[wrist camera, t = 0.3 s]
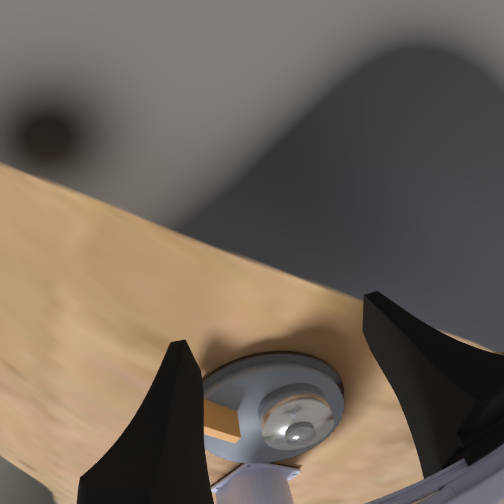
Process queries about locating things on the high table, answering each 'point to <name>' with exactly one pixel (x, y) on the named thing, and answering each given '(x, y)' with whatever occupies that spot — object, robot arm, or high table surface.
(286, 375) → the turntable
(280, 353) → the turntable base
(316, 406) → the cover
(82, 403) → the high table surface
